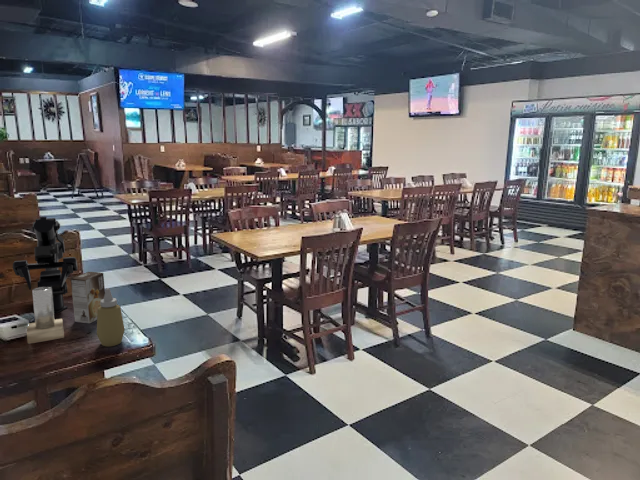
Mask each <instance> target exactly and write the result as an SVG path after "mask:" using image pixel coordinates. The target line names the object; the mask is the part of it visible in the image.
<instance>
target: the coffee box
mask: <svg viewBox="0 0 640 480" xmlns="http://www.w3.org/2000/svg"><path fill="white" fill-rule="evenodd" d="M104 277H105V275H104V272H97V271H96V272H95V271H87V272H84V273H81V274H79V275H76V276H73V277H71V278H70V283H71V285H70V286H71V294H72V296H71V297H72V305H73V315H74V321H75V322H76V323H83V324H91V323H94V322H96V321H97V312H98V308H99V307H100V306H101V305H100V301H101V300H102V299H104V296H105V290H106V288H105V287H106V286H105V279H104Z"/></svg>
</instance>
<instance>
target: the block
mask: <svg viewBox="0 0 640 480" xmlns="http://www.w3.org/2000/svg"><path fill="white" fill-rule="evenodd" d="M54 320H55V326H53V327H51V328H48V329H37V328H36V325H35V322H30V323H29V322H28V324H29V326H28V327H27V326H26V327H27V328H26V340H27V344H35V343H41V342H47V341H52V340H57V339H58V340H59V339H65V331H64V330H65V329H64V323H63V322H64V321H63V318H56V319H55V318H54Z"/></svg>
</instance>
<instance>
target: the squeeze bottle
mask: <svg viewBox="0 0 640 480" xmlns="http://www.w3.org/2000/svg"><path fill="white" fill-rule="evenodd" d="M100 305H101V306H100V307H99V308H98V312H97V320H96V336H97V338H98V340H99V342H100V344H101V346H103V347H115V346H117V345H119V344H121V343H122V341H123V338H124V335H125V324H124V319H123V313H122V309H121V306H120V305H118V300H117V298H115V297H113V294H112V291H111V289H110V288H109V287H108V288H105V296H104V299H102V300H101V301H100Z"/></svg>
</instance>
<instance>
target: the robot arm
mask: <svg viewBox="0 0 640 480" xmlns="http://www.w3.org/2000/svg"><path fill="white" fill-rule="evenodd" d="M60 229H61V223H60V222H59V220H57V219H56V217H51V218H50V217H49V218H48V217H47V216H41V217H39V218H36V219H35V221H33V223H32V231H33V232H34V233H35V238H36V239H37V245H36V246H35V247H34V261H35V262H36V263H28V260H24V259H23V260H15V261H14V262H12V269H13V271H14V272H13V273H14V274H15V276H18V277H19V278H24V280H25V282H26V284H27V287H28V289H29V291H31V290H32V278H31V274H30V271H31V270H33V271H34V270H41V271H40V275H39V280H38V281H37V288H38V287H51V288H52V296H53V308H54V314H58V313H59V312H62V311H64V310H65V309H67V308H68V305H65V304H64V295H66V294H68V284H67V279H68V277H69V276H70V275H71V274H74V272H77V271H78V261H77V258H76V257H75V256H70V257H64V253H65V251H66V250H65V242H64V241H65V240H64V238H63V236H61V235H60V233H58V231H59V230H60ZM61 259H62V261H59V260H61ZM60 268H61V270H60ZM43 269H44V270H43Z"/></svg>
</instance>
